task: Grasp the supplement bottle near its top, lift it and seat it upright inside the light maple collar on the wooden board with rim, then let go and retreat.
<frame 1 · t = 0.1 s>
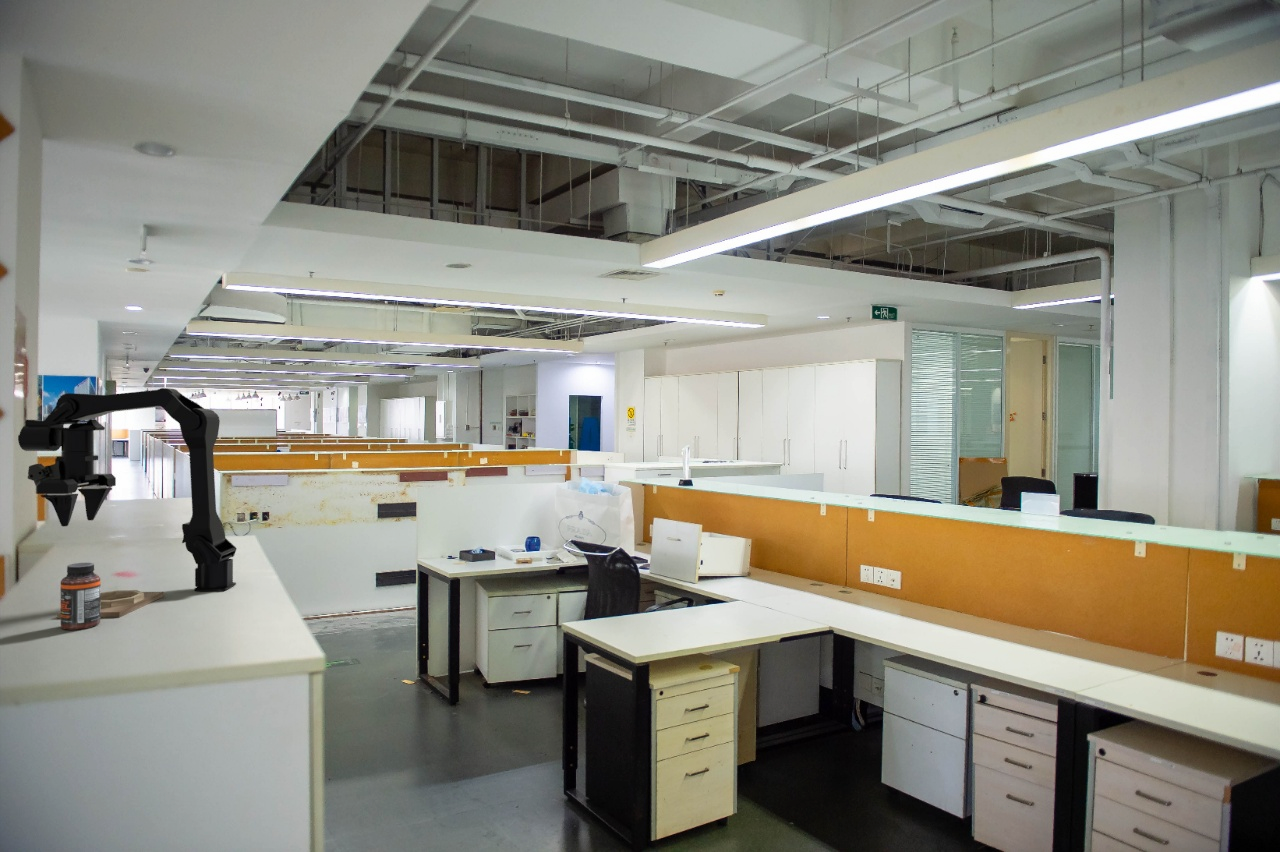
hand: (77, 523, 170), 15 cm above the table, fingers open, 9 cm apart
supplement bottle: (80, 627, 143), on the table
wooden board with rim: (113, 606, 157), on the table
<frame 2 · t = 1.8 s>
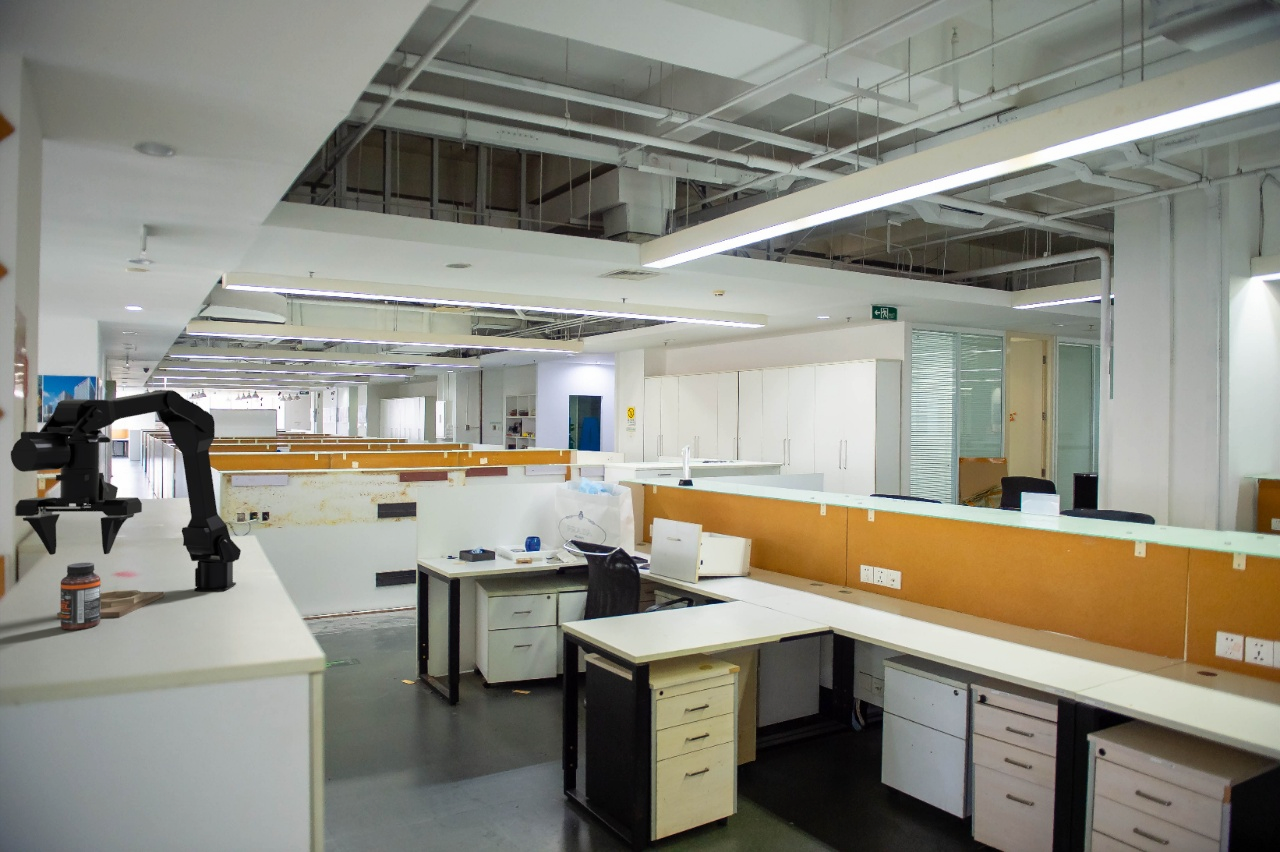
hand: (79, 554, 142), 13 cm above the table, fingers open, 9 cm apart
nothing on the table moved.
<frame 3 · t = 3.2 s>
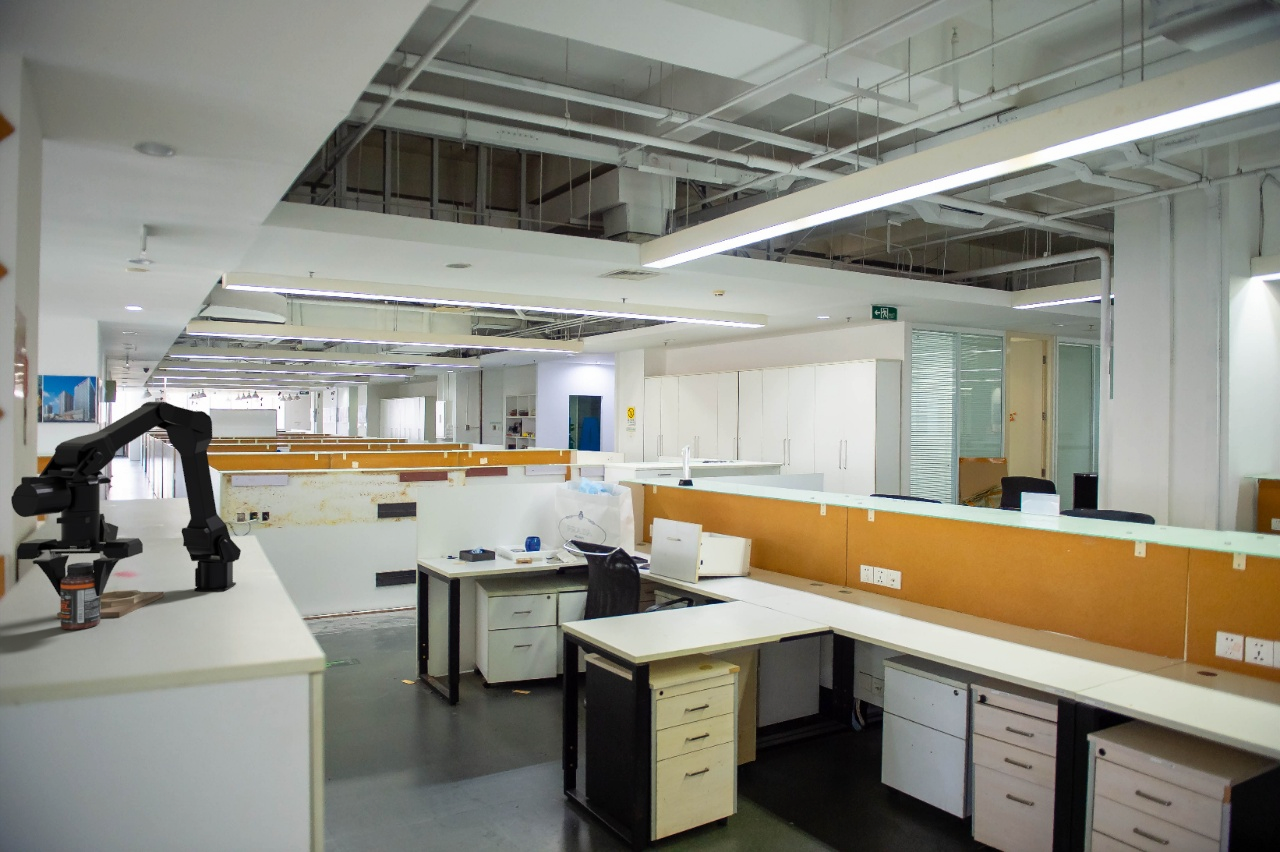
hand: (80, 595, 142), 6 cm above the table, fingers closed on supplement bottle, 6 cm apart
supplement bottle: (80, 627, 143), on the table, touching gripper
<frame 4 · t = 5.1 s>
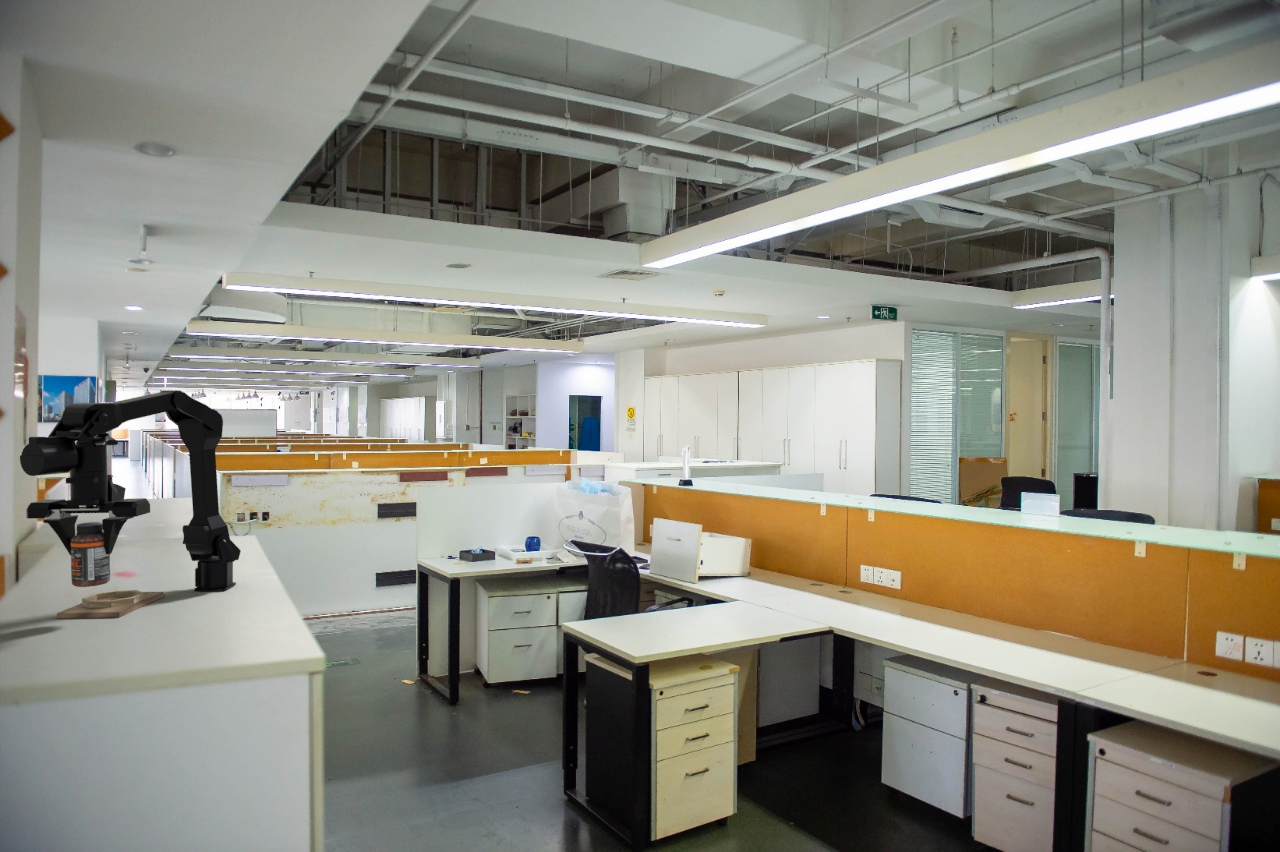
hand: (90, 554, 146), 12 cm above the table, fingers closed on supplement bottle, 6 cm apart
supplement bottle: (91, 585, 146), point 7 cm above the table, touching gripper
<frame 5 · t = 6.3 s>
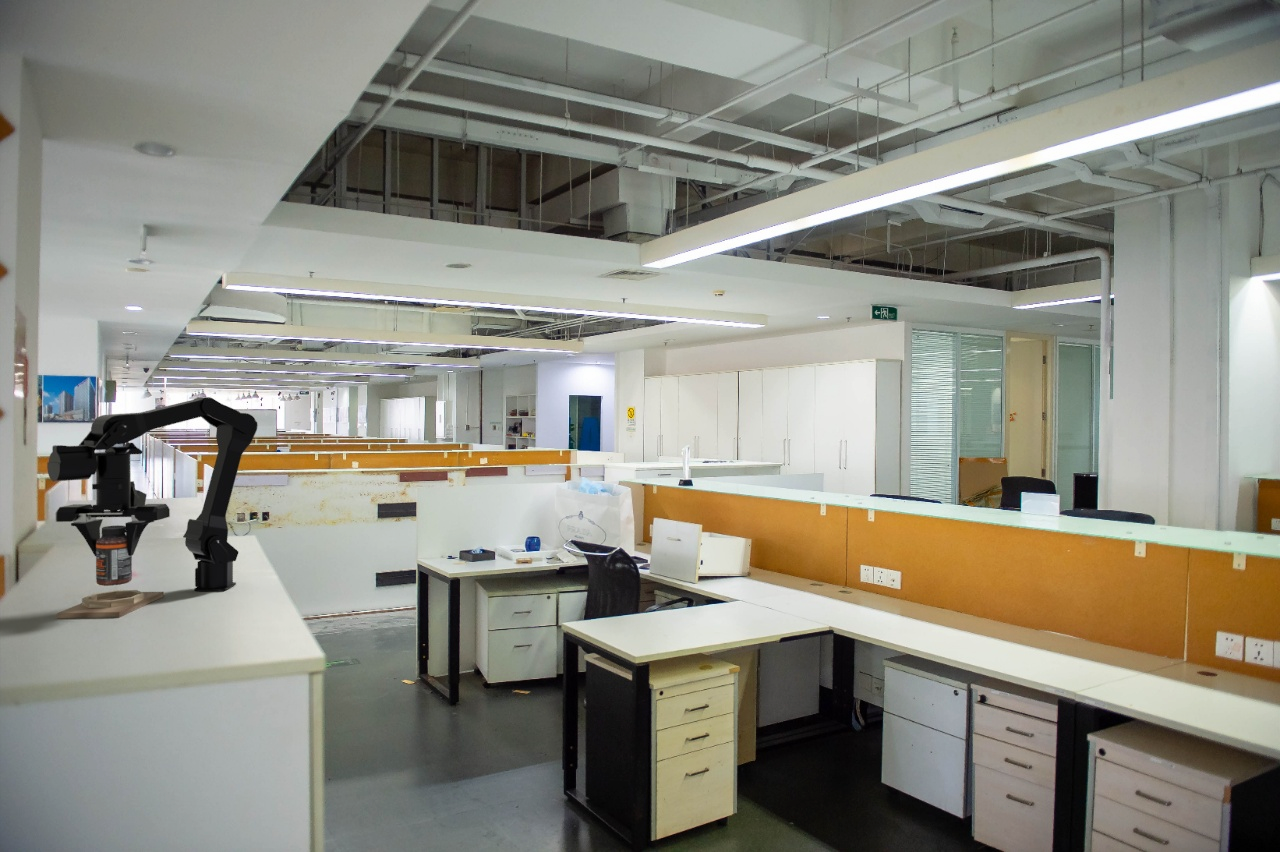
hand: (114, 555, 157), 10 cm above the table, fingers closed on supplement bottle, 6 cm apart
supplement bottle: (114, 584, 157), point 5 cm above the table, touching gripper
when the fingers open (7 cm above the table, at t = 7.2 s): supplement bottle stays where it is, resting on wooden board with rim.
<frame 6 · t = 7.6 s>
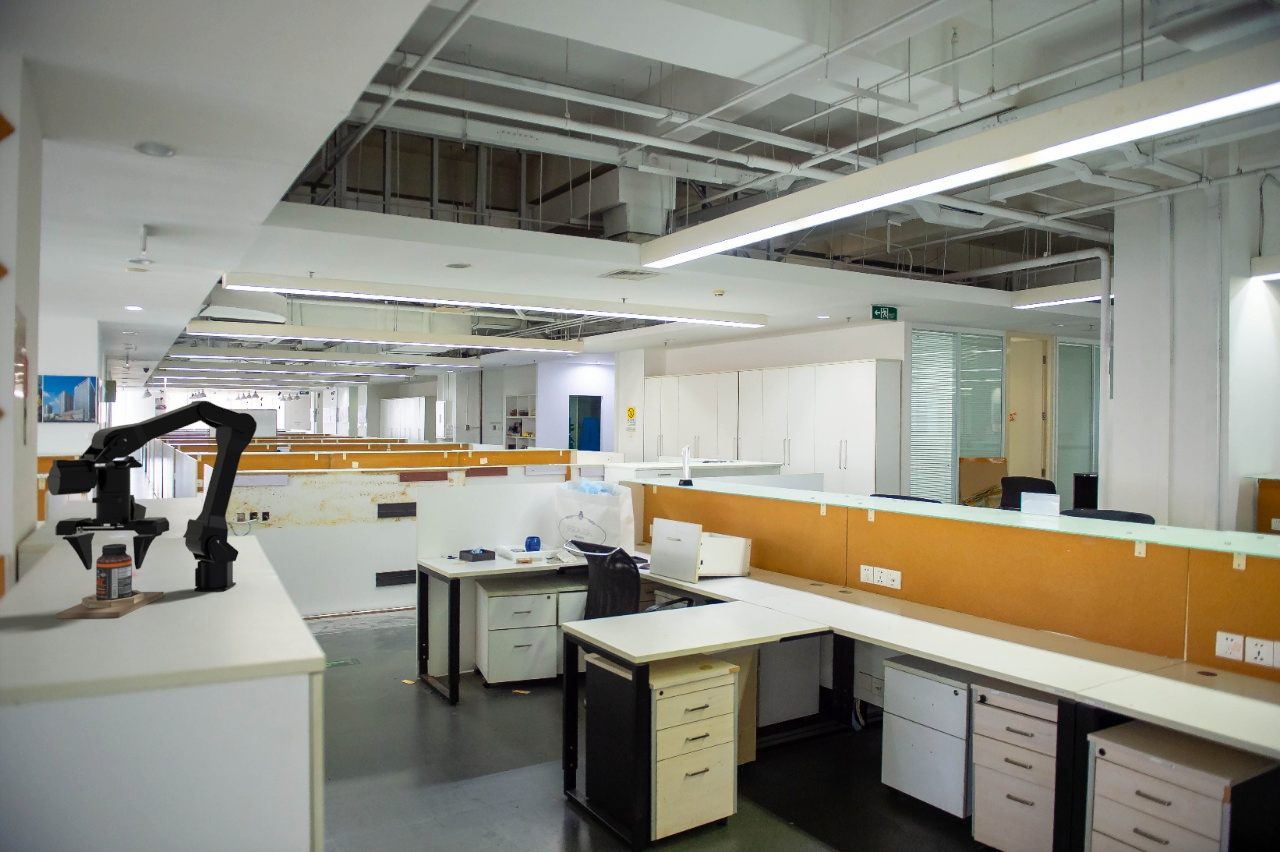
hand: (113, 569, 157), 7 cm above the table, fingers open, 9 cm apart
supplement bottle: (114, 602, 157), point 1 cm above the table, touching wooden board with rim
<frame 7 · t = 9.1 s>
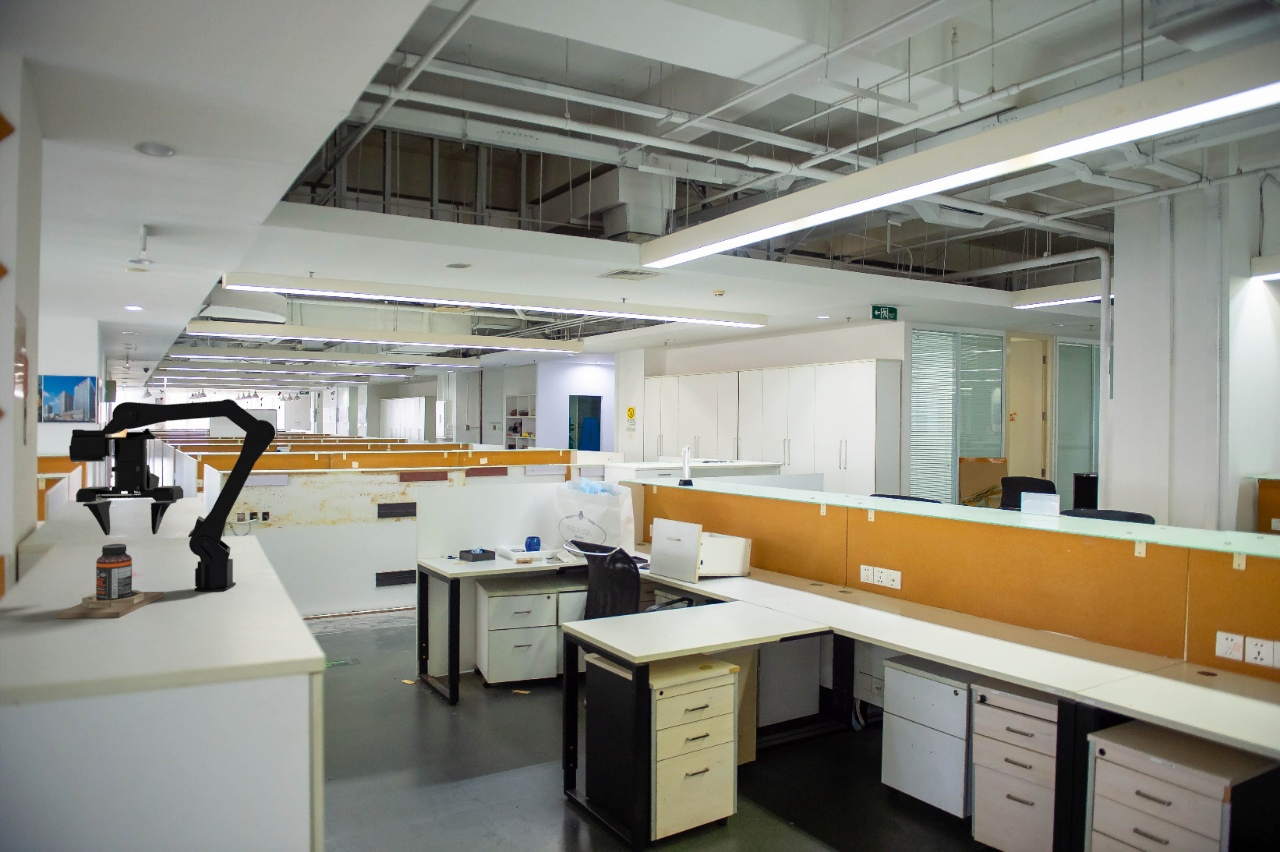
hand: (131, 534, 166), 13 cm above the table, fingers open, 9 cm apart
nothing on the table moved.
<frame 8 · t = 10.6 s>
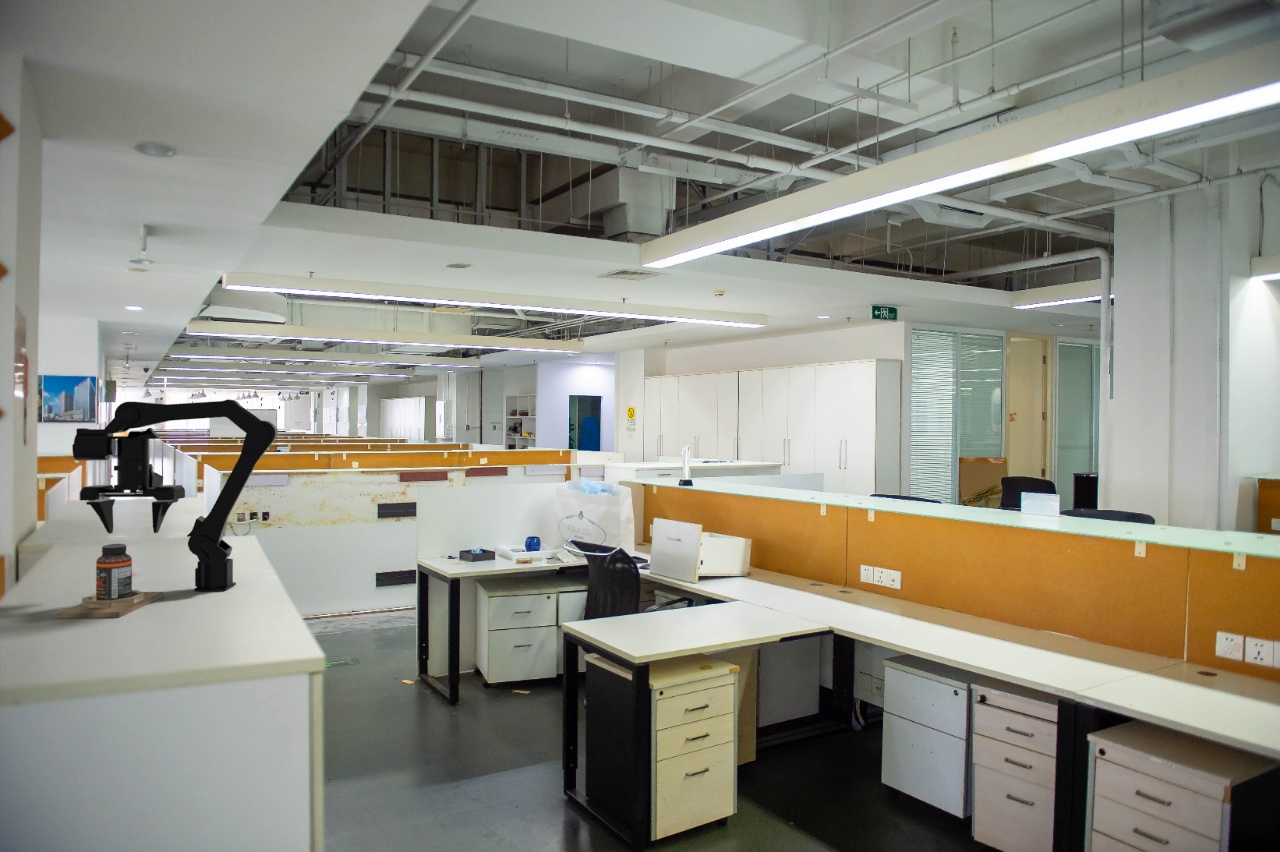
hand: (133, 533, 168), 13 cm above the table, fingers open, 9 cm apart
nothing on the table moved.
at the end: supplement bottle 0.1 cm off-centre on the wooden board with rim, point 0.8 cm above the wooden board with rim's base; supplement bottle tilted 0°; the gripper is holding nothing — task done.
